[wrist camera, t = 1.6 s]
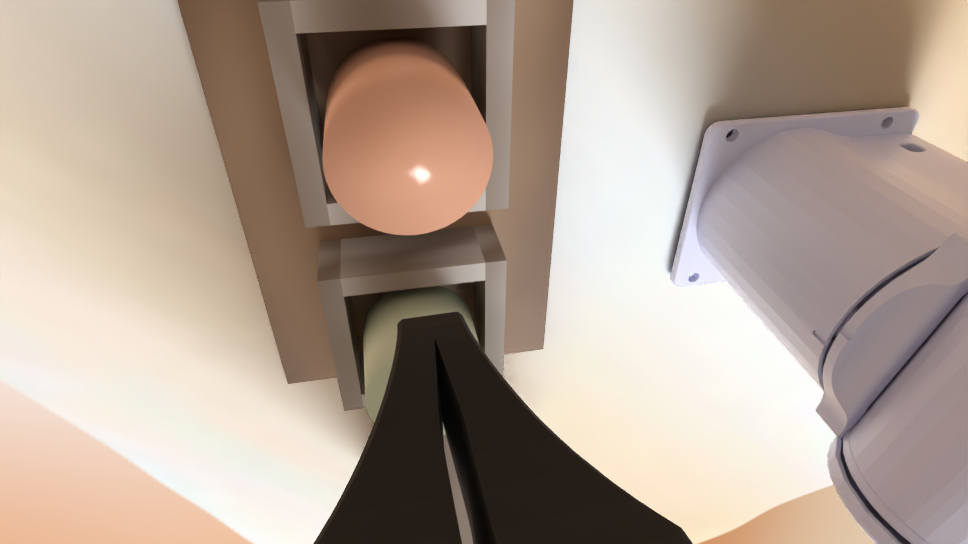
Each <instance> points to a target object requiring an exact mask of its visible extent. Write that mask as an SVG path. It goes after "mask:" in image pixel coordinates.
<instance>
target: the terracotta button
mask: <svg viewBox="0 0 968 544" xmlns="http://www.w3.org/2000/svg"><path fill="white" fill-rule="evenodd" d="M322 162H323V171H324V175H325V179H326V182H327V184H328V187H329V189H330V191H331V193H332V195H333V196H334V198H335V199H336V201H337V202H338V203H339V205H340V206H341V207H342V208H343V209H344V210H345V211H346V212H347V213H348V214H349V215H350V216H352V217H353V218H354V219H356V220H357V221H359V222H360V223H362V224H364V225H365V226H368V227H370V228H372V229H375V230H377V231H381V232H384V233H389V234H394V235H419V234H425V233H429V232H433V231H436V230H439V229H441V228H444V227H446V226H448V225H450V224H452V223H454V222H455V221H457V220H458V219H460V218H461V217H462V216H464V215H465V214H466V213H467V212H468V211H469V210H470V209H471V208H472V207H473V206H474V205H475V204H476V203H477V201H478V200H479V198H480V197H481V195H482V194H483V192H484V190H485V188H486V186H487V184H488V181H489V178H490V175H491V171H492V166H493V146H492V141H491V136H490V133H489V130H488V127H487V125H486V123H485V121H484V119H483V117H482V116H481V114H480V112H479V110H478V108H477V106H476V104H475V102H474V100H473V98H472V96H471V94H470V92H469V90H468V88H467V86H466V84H465V82H464V80H463V79H462V77H461V75H460V73H459V71H458V70H457V68H456V67H455V65H454V64H453V63H452V62H451V61H450V60H449V59H448V57H447V56H445V55H444V54H443V53H442V52H440V51H439V50H438V49H436V48H434V47H433V46H431V45H429V44H427V43H424V42H422V41H419V40H416V39H412V38H405V37H388V38H381V39H377V40H374V41H371V42H369V43H366V44H364V45H362V46H361V47H359V48H357V49H356V50H354V51H353V52H352V53H351V54H349V55H348V56H347V57H346V58H345V59H344V60H343V61H342V62H341V64H340V65H339V67H338V68H337V69H336V71H335V73H334V75H333V77H332V79H331V82H330V85H329V88H328V93H327V100H326V113H325V126H324V140H323V155H322Z"/></svg>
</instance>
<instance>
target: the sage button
mask: <svg viewBox="0 0 968 544" xmlns="http://www.w3.org/2000/svg"><path fill="white" fill-rule="evenodd" d="M449 312H459V313H460V314H462V315H463V317H464V319H465V321H466V323H467V325H468V327H469V329H470V331H471V332H472V334H473V336H474V337H475V339H476V340H477V342H478V338H477V334H476V331H475V327H474V323H473V320H472V316H471V312H470V309H469V307H468V305H467V304H466V302H465V301H464V300H463V299H462V298H461V297H460V296H459V295H458V294H457V293H455V292H453V291H452V290H450V289H448V288H445V287H442V286H432V287H423V288H415V289H406V290H397V291H390V292H388V293H386V294H385V295H383V296H382V297H380V298H379V299H378V300H377V301H376V302H375V303H374V304H373V305H372V306H371V307H370V309H369V310H368V312H367V314H366V316H365V319H364V322H363V351H364V378H365V404H366V410H367V413H368V415H369V417H370V419H371V420H372V421H373V422H374V423H375V420H376V417H377V414H378V411H379V409H380V406H381V403H382V400H383V397H384V394H385V390H386V387H387V383H388V379H389V375H390V372H391V368H392V364H393V359H394V354H395V348H396V342H397V324H398V323H399V322H400V321H401V320H402V319H407V318H414V317H421V316H428V315H435V314H442V313H449ZM478 343H479V342H478ZM443 435H446V433H445V429H444V425H443Z"/></svg>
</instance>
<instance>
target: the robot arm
mask: <svg viewBox="0 0 968 544" xmlns="http://www.w3.org/2000/svg"><path fill="white" fill-rule="evenodd" d="M918 117H919V114H918V111H917V110H915V109H913V108H911V107H897V108H884V109H871V110H858V111H845V112H832V113H819V114H806V115H793V116H779V117H766V118H753V119H740V120H727V121H718V122H714V123H713V124H711V125H710V126H709V127H708V128H707V130H706V132H705V135H704V139H703V143H702V147H701V151H700V156H699V160H698V164H697V168H696V172H695V176H694V180H693V185H692V189H691V193H690V197H689V201H688V205H687V209H686V214H685V218H684V222H683V226H682V230H681V234H680V238H679V243H678V247H677V251H676V255H675V259H674V263H673V267H672V271H671V276H670V279H671V281H672V282H673V283H674V285H676V286H677V287H683V286H691V285H699V284H707V283H715V282H723V281H727V283H728V284H729V285H730V286H731V287H732V288H733V289H734V290H735V292H736V293H737V294H738V295H739V296H740V297H741V298H742V299H743V301H744V302H745V303H746V304H747V305H748V306H749V307H750V308H751V310H752V311H753V312H754V313H755V314H756V315H757V316H758V318H759V319H760V320H761V321H762V322H763V323H764V324H765V325H766V327H767V328H768V329H769V330H770V331H771V332H772V333H773V334H774V336H775V337H776V338H777V339H778V340H779V341H780V342H781V344H782V345H783V346H784V347H785V348H786V349H787V350H788V351H789V353H790V354H791V355H792V356H793V357H794V358H795V359H796V360H797V362H798V363H799V364H800V365H801V366H802V367H803V368H804V370H805V371H806V372H807V373H808V374H809V375H810V376H811V377H812V379H813V380H814V381H815V382H816V383H817V384H818V385H819V386H820V388H821V389H822V390H823V391H824V395H823V398H822V400H821V402H820V404H819V405H818V407H817V408H816V412H817V413H818V414H819V415H820V417H821V418H822V419H823V420H824V421H825V423H826V424H827V425H828V426H829V427H830V429H831V430H832V431H833V432H834V433H835V434H836V436H837V437H836V438H835V439H834V440H833V442H832V443H831V445H830V448H829V452H828V469H829V473H830V477H831V479H832V482H833V484H834V486H835V489H836V491H837V493H838V495H839V497H840V498H841V500H842V502H843V503H844V505H845V507H846V508H847V510H848V511H849V512H850V514H851V515H852V517H853V518H854V520H855V521H856V522H857V524H858V525H859V527H860V528H861V529H862V530H863V531H864V532H865V534H866V535H867V536H868V537H869V538H870V539H871V540H872V541H873V542H874V543H875V544H968V162H966V161H964V160H962V159H960V158H958V157H956V156H954V155H952V154H950V153H948V152H946V151H944V150H942V149H940V148H938V147H936V146H934V145H932V144H930V143H928V142H926V141H924V140H922V139H920V138H918V137H916V136H914V135H912V134H911V133H912V131H913V129H914V127H915V125H916V123H917V120H918ZM883 120H885V121H884V122H883ZM882 122H883V123H882ZM881 123H882V124H881ZM731 130H733V133H732V135H730V136H729V137H727V138H726V136H727V134H728V132H729V131H731ZM692 274H694V275H692ZM690 275H692V276H691V277H689V276H690ZM443 425H444V429H445V433H446V437H447V440H448V444H449V448H450V452H451V455H452V459H453V463H454V467H455V470H456V474H457V478H458V481H459V485H460V489H461V493H462V496H463V500H464V504H465V507H466V511H467V516H468V520H469V524H470V529H471V534H472V540H473V544H692V542H691V541H690V539H689V538H688V536H687V535H686V534H685V532H684V531H683V529H682V528H681V527H679V526H677V525H676V524H674V523H673V522H671V521H669V520H668V519H666V518H665V517H663V516H661V515H660V514H658V513H657V512H655V511H653V510H652V509H650V508H649V507H647V506H646V505H644V504H643V503H641V502H640V501H638V500H637V499H635V498H634V497H633V496H631V495H630V494H628V493H627V492H626V491H624V490H623V489H621V488H620V487H619V486H617V485H616V484H615V483H613V482H612V481H610V480H609V479H608V478H607V477H605V476H604V475H603V474H602V473H600V472H599V471H598V470H597V469H595V468H594V467H593V466H592V465H590V464H589V463H588V462H587V461H585V460H584V459H583V458H582V457H580V456H579V455H578V454H577V453H576V452H574V451H573V450H572V449H571V448H570V447H569V446H568V445H567V444H565V443H564V442H563V441H562V440H561V439H560V438H559V437H558V436H557V435H556V434H555V433H554V432H552V431H551V430H550V429H549V428H548V427H547V426H546V425H545V424H544V423H543V422H542V421H541V420H540V419H539V418H538V417H537V416H536V415H535V414H534V412H533V411H532V410H531V409H530V408H529V407H528V406H527V405H526V404H525V403H524V402H523V400H522V399H521V398H520V397H519V396H518V395H517V394H516V392H515V391H514V390H513V389H512V388H511V386H510V385H509V384H508V383H507V382H506V380H505V379H504V378H503V377H502V375H501V374H500V373H499V371H498V370H497V369H496V367H495V366H494V365H493V363H492V362H491V361H490V359H489V358H488V357H487V355H486V354H485V352H484V351H483V349H482V348H481V346H480V345H479V343H478V342H477V340H476V339H475V337H474V336H473V334H472V332H471V331H470V329H469V327H468V325H467V323H466V321H465V319H464V317H463V315H462V314H460V313H459V312H449V313H442V314H435V315H428V316H421V317H414V318H407V319H402V320H401V321H400V322H399V323H398V324H397V342H396V348H395V354H394V359H393V364H392V368H391V372H390V375H389V379H388V383H387V387H386V390H385V394H384V397H383V400H382V403H381V406H380V409H379V411H378V414H377V417H376V420H375V423H374V426H373V428H372V431H371V433H370V436H369V438H368V441H367V443H366V446H365V448H364V450H363V453H362V455H361V457H360V459H359V461H358V464H357V466H356V468H355V470H354V472H353V474H352V476H351V478H350V480H349V482H348V484H347V486H346V488H345V490H344V492H343V494H342V496H341V498H340V500H339V501H338V503H337V505H336V507H335V509H334V511H333V512H332V514H331V516H330V517H329V519H328V521H327V522H326V524H325V526H324V527H323V529H322V531H321V532H320V534H319V536H318V537H317V539H316V541H315V542H314V544H462V540H461V535H460V530H459V525H458V520H457V515H456V510H455V504H454V499H453V494H452V489H451V483H450V478H449V473H448V467H447V462H446V457H445V451H444V437H443Z"/></svg>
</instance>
